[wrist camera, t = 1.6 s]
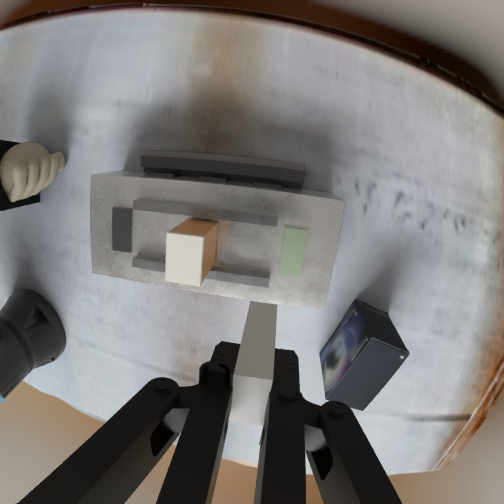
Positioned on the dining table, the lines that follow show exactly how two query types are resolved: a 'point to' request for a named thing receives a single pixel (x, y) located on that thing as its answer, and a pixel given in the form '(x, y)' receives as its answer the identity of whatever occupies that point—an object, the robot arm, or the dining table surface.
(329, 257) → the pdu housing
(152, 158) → the grooved gray rail
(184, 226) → the lever
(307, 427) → the robot arm
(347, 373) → the small box
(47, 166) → the decorative object
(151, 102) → the dining table surface
